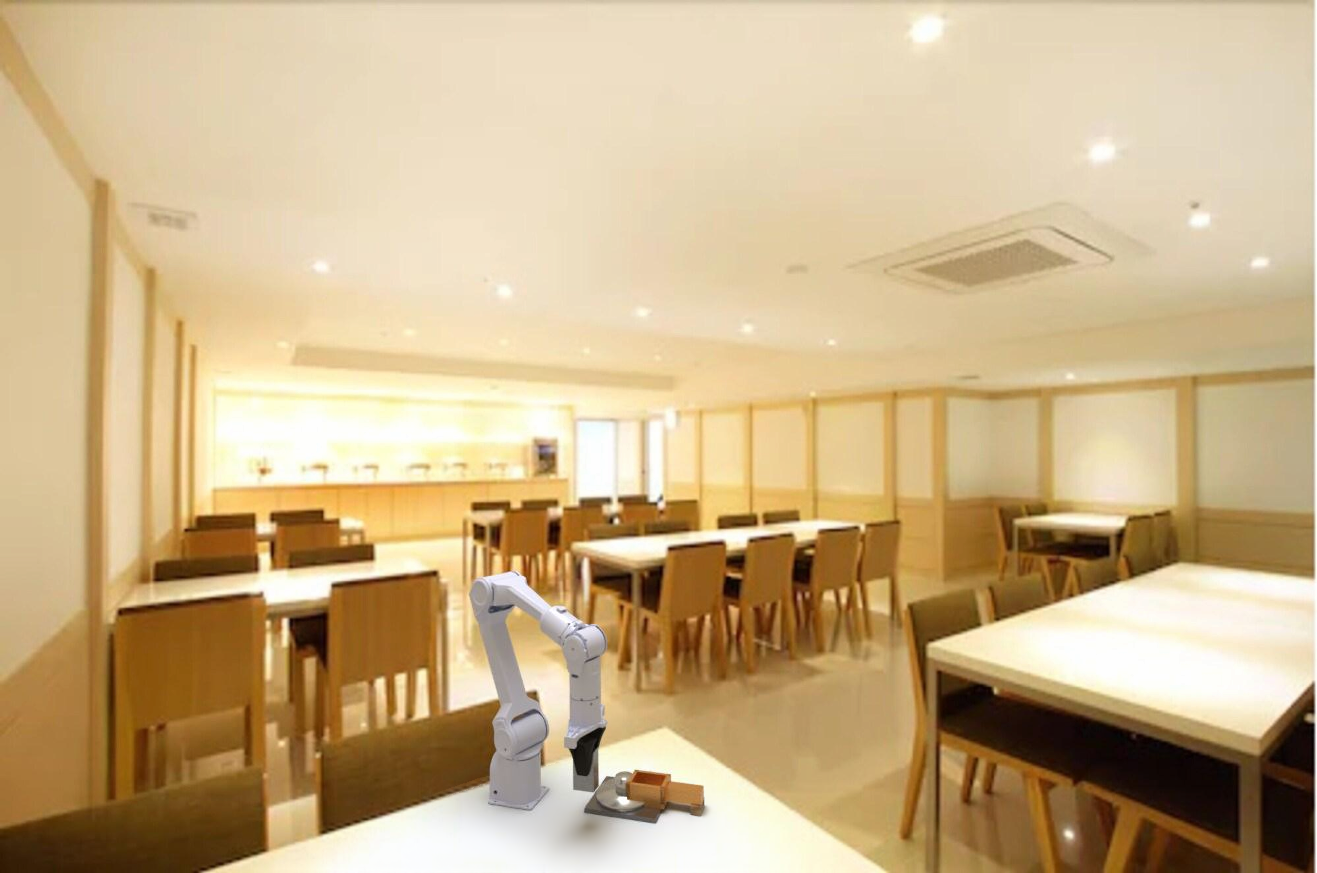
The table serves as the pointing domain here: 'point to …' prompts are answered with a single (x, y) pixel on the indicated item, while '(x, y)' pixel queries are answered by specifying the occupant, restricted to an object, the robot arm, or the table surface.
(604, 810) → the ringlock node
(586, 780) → the brushed metal block
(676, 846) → the table surface
